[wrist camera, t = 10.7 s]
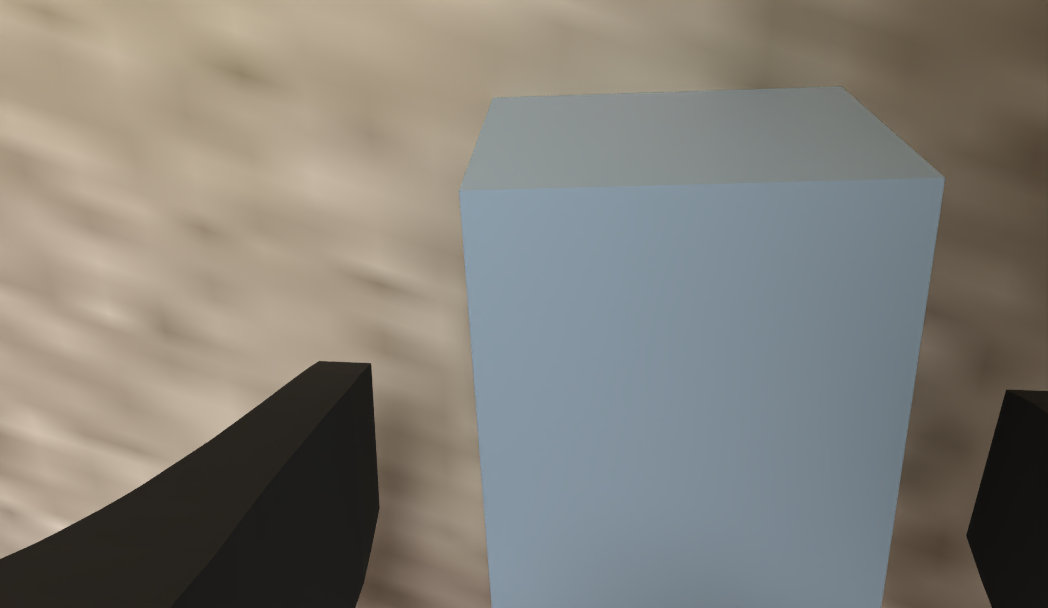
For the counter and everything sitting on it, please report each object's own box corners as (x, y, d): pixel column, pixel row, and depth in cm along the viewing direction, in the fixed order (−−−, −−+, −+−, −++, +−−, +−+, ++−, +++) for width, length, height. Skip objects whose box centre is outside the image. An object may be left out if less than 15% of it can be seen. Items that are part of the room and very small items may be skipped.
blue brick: (797, 518, 15) (863, 723, 12) (519, 519, 16) (500, 719, 12) (838, 83, 12) (944, 177, 9) (493, 94, 13) (458, 190, 9)
